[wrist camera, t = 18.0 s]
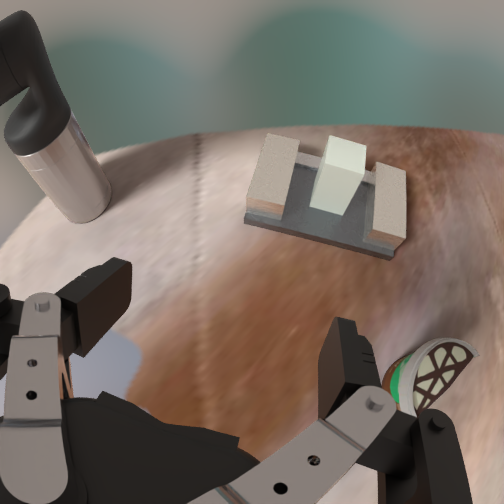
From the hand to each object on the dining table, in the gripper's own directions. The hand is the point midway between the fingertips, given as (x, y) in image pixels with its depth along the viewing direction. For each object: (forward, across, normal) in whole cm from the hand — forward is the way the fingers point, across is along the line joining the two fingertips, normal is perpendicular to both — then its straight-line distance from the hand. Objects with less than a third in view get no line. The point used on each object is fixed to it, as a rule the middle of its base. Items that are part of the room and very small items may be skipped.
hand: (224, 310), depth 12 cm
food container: (+22, -22, +18) cm, 36 cm away
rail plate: (+38, -7, +2) cm, 39 cm away
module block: (+37, -7, +1) cm, 38 cm away
